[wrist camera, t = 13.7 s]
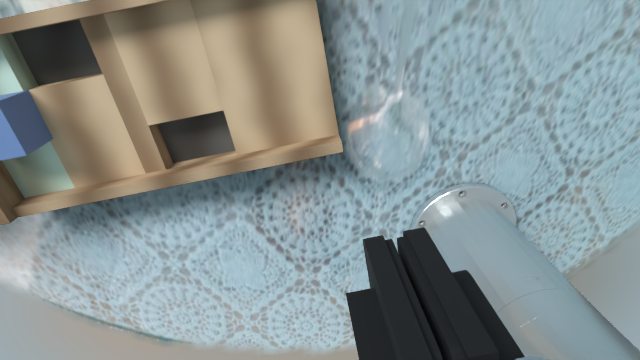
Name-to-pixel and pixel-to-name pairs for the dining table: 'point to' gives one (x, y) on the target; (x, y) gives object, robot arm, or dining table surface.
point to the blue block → (21, 126)
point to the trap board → (162, 95)
